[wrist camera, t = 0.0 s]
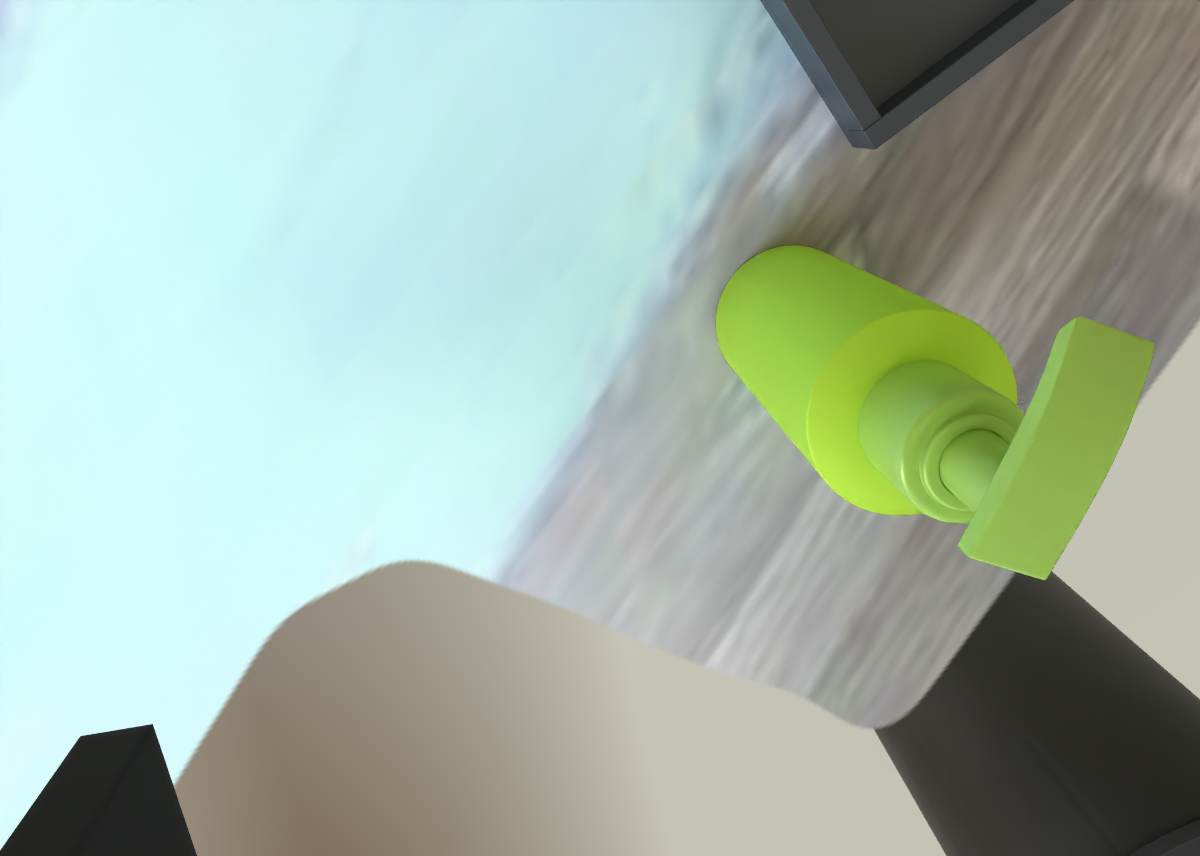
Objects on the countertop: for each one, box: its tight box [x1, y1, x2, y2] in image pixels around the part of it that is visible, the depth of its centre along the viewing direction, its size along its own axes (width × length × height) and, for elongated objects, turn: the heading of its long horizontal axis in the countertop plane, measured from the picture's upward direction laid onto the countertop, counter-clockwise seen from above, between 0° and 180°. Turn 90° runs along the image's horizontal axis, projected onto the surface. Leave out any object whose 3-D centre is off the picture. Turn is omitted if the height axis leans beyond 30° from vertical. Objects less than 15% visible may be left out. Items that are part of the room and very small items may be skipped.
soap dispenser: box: [716, 245, 1155, 580], centre depth 30 cm, size 6×7×20 cm
